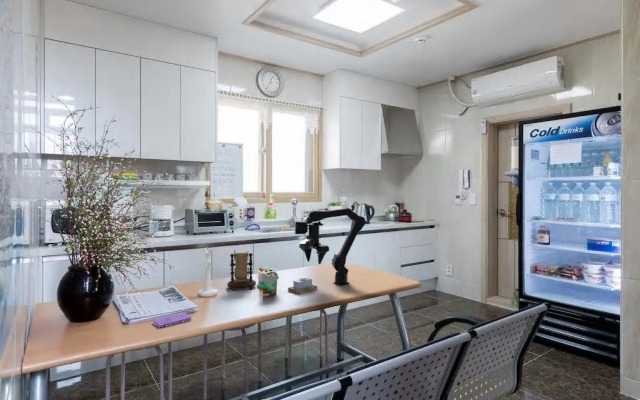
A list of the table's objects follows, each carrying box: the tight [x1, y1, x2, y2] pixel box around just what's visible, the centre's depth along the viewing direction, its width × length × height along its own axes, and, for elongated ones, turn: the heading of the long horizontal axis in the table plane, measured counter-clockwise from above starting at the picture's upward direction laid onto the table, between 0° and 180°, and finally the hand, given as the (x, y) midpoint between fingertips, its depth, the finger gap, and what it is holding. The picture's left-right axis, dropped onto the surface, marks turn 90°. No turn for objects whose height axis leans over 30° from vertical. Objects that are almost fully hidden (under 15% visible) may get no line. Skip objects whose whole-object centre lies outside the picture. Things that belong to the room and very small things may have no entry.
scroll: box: [226, 249, 257, 291], centre depth 195 cm, size 15×15×20 cm
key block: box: [292, 277, 313, 290], centre depth 190 cm, size 4×9×6 cm, turn 131°
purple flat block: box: [152, 312, 192, 328], centre depth 147 cm, size 7×13×2 cm, turn 132°
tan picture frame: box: [287, 284, 318, 295], centre depth 190 cm, size 13×8×2 cm, turn 131°
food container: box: [261, 271, 279, 298], centre depth 182 cm, size 12×6×10 cm, turn 168°
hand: (313, 262), depth 200 cm, fingers open, 9 cm apart
